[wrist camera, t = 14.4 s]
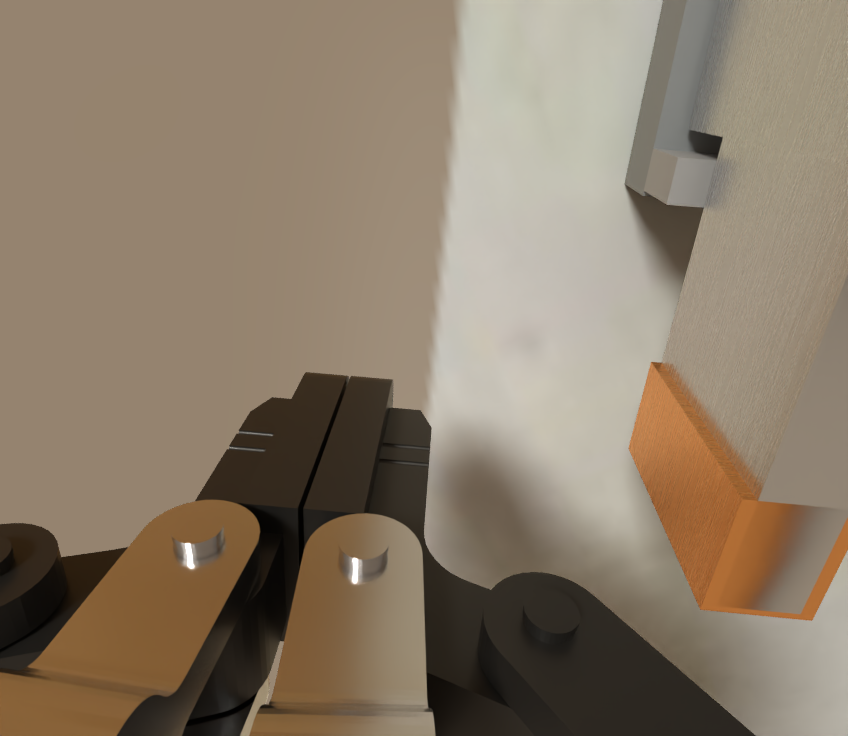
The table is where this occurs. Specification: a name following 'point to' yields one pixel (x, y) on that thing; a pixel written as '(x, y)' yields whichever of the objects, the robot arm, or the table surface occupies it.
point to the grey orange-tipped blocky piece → (761, 323)
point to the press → (675, 110)
